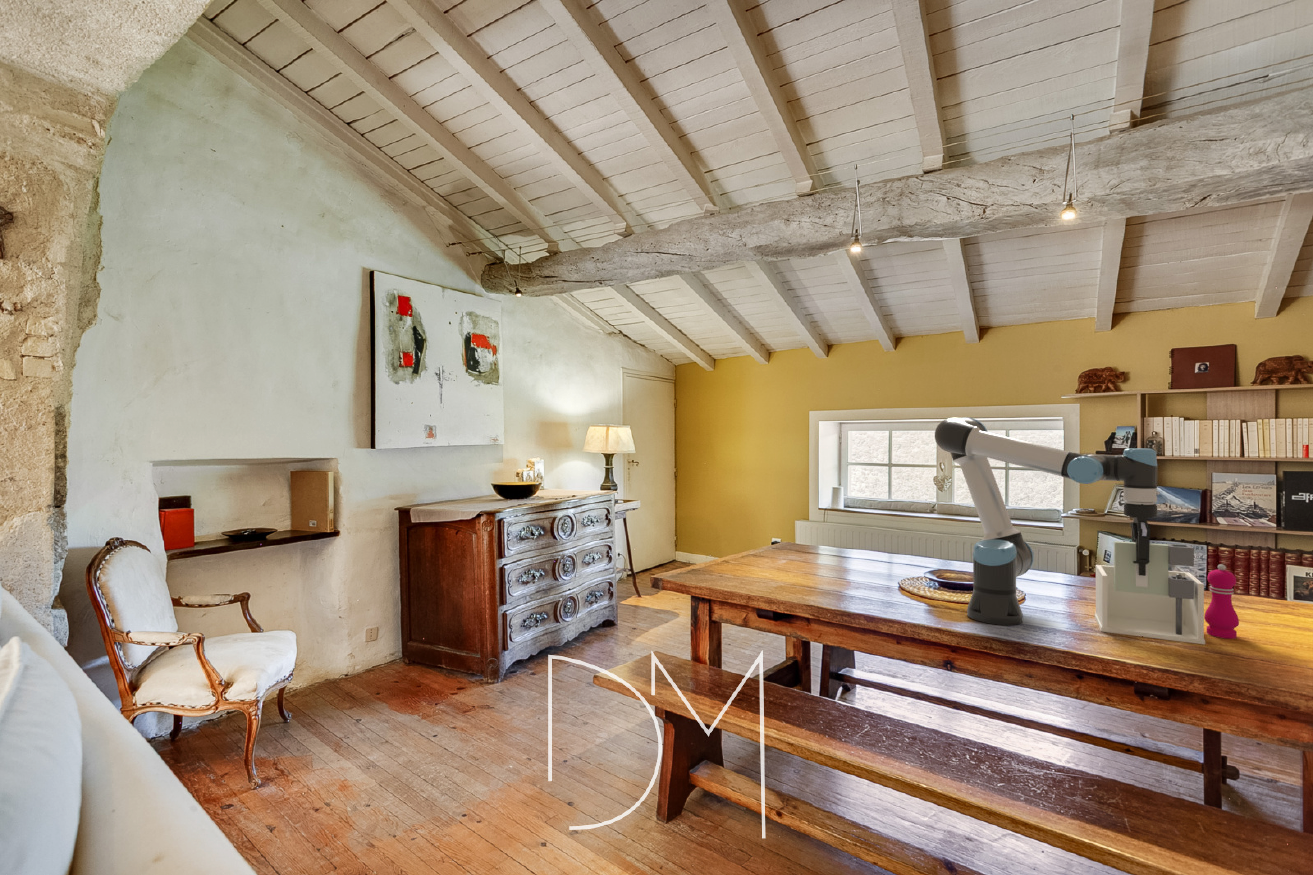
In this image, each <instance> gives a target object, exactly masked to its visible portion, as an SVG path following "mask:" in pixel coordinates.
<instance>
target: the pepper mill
mask: <svg viewBox="0 0 1313 875" xmlns="http://www.w3.org/2000/svg"><path fill="white" fill-rule="evenodd" d="M1207 574H1208V575H1207V581H1208V583H1210V586H1209V591H1210V592H1211V601H1210V604H1209V605H1208V607H1207V609H1206V610H1205V611H1204V622H1206V623H1207V624H1208V625H1207V626H1206V633H1207V635H1208V636H1209V635H1210V636H1212V637H1215V638H1221V639H1228V640H1229V639H1231V640H1232V639H1237V630H1235V628H1238V626H1239V624H1240V621H1239V620H1240V619H1239V616H1238V614H1237V611H1236V610H1235V608H1234V606H1233V603H1232V602H1233V601H1232V595H1233V594H1234V588H1233V587H1234V586H1236V584H1237V578H1236V576H1235V574H1233V573H1232V572H1231V571H1228V570H1227V567H1226V565H1225V564H1223V563H1221V564H1218V565H1217V569H1214V570H1213V569H1212V570H1211V571H1209V572H1208V573H1207Z"/></svg>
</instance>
